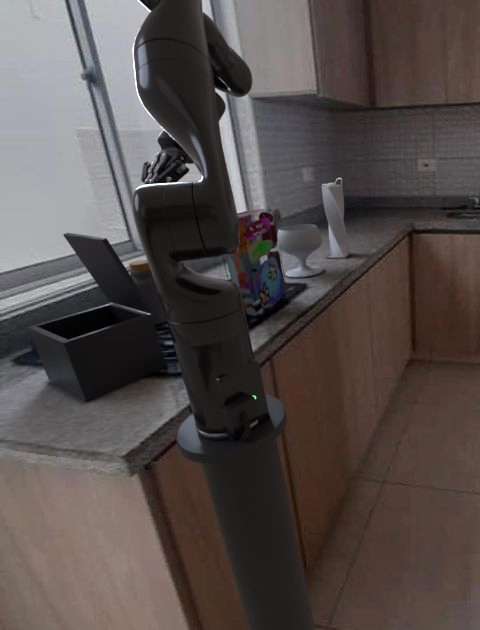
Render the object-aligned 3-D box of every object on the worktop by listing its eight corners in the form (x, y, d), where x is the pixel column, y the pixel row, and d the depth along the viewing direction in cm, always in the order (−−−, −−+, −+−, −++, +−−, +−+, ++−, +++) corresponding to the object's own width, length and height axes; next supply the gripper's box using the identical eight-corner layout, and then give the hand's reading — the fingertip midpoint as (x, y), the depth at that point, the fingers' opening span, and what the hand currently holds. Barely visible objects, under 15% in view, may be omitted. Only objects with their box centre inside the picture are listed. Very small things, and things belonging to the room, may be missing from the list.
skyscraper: (354, 253, 167) (346, 176, 157) (348, 259, 159) (339, 178, 149) (332, 254, 168) (323, 177, 158) (325, 259, 161) (315, 179, 150)
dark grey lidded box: (86, 402, 74) (63, 343, 70) (49, 381, 82) (27, 327, 78) (167, 366, 85) (151, 314, 81) (127, 351, 93) (112, 302, 89)
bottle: (162, 315, 113) (145, 258, 108) (175, 318, 110) (159, 260, 105) (138, 323, 109) (120, 264, 103) (152, 326, 106) (134, 266, 100)
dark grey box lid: (101, 240, 73) (106, 237, 73) (62, 234, 80) (67, 232, 81) (149, 313, 81) (152, 310, 81) (109, 301, 89) (113, 299, 89)
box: (283, 290, 128) (268, 204, 119) (303, 290, 127) (289, 204, 118) (235, 323, 105) (213, 220, 96) (259, 323, 104) (238, 219, 95)
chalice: (275, 279, 139) (266, 232, 134) (292, 267, 152) (285, 223, 146) (317, 279, 137) (311, 231, 132) (331, 267, 150) (326, 222, 145)
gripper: (153, 121, 89) (106, 190, 84) (190, 116, 83) (142, 191, 78) (184, 148, 95) (142, 214, 90) (221, 146, 89) (178, 217, 84)
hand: (142, 203), depth 84 cm, fingers closed
